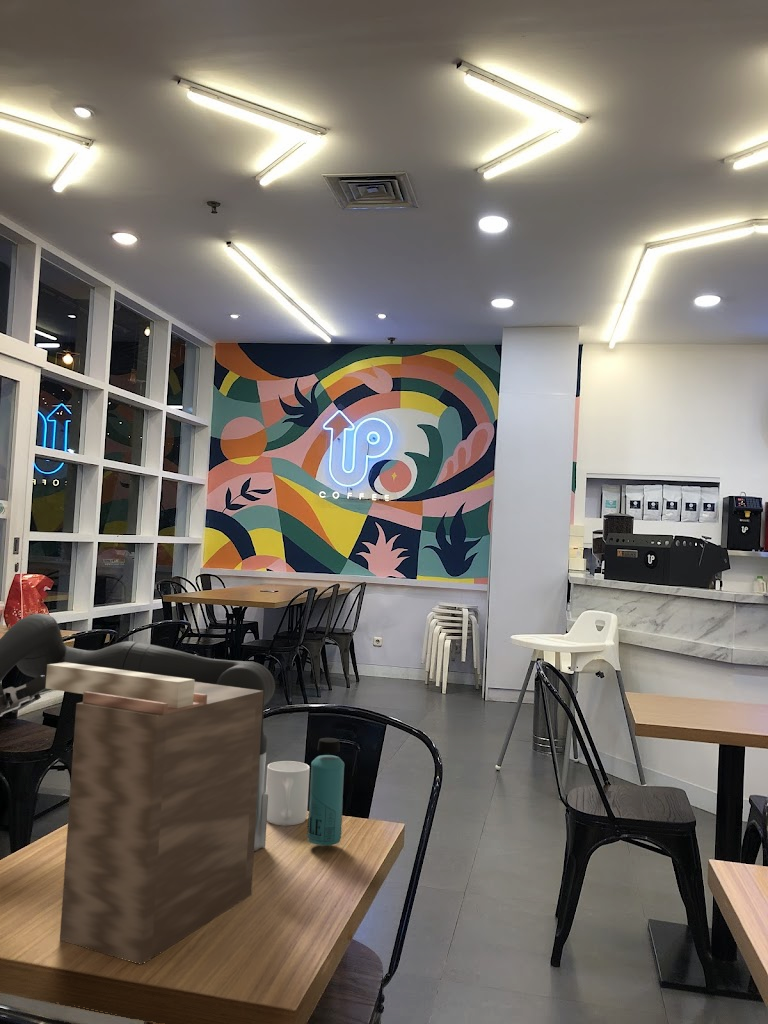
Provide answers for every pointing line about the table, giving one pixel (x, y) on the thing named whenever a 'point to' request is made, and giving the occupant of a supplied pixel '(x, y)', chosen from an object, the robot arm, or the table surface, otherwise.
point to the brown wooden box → (159, 817)
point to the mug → (287, 792)
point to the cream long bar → (120, 683)
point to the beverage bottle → (326, 795)
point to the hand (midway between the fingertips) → (23, 684)
